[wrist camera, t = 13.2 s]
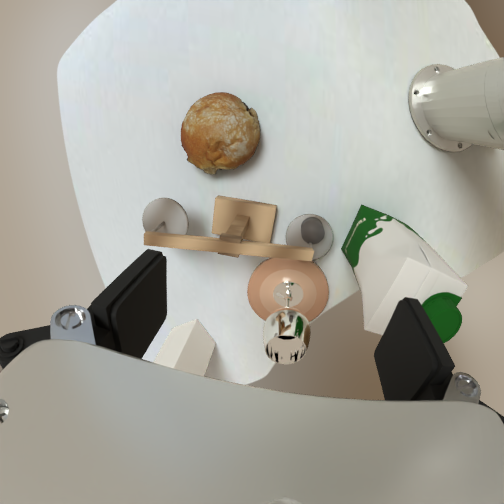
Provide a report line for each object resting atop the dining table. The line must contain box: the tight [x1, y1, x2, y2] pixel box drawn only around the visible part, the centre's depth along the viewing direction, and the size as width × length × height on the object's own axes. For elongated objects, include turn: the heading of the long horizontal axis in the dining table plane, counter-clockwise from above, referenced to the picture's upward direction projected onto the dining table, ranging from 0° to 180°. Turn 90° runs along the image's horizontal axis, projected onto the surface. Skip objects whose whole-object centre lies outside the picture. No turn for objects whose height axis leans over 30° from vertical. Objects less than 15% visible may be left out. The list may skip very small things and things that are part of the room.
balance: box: [142, 196, 333, 261], centre depth 33 cm, size 24×6×12 cm, turn 81°
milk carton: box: [341, 205, 468, 343], centre depth 29 cm, size 9×9×20 cm
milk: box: [153, 319, 216, 376], centre depth 39 cm, size 6×6×22 cm
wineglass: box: [263, 281, 310, 364], centre depth 36 cm, size 6×6×12 cm
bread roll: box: [181, 92, 260, 175], centre depth 33 cm, size 10×10×8 cm
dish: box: [247, 257, 329, 322], centre depth 42 cm, size 12×12×1 cm
